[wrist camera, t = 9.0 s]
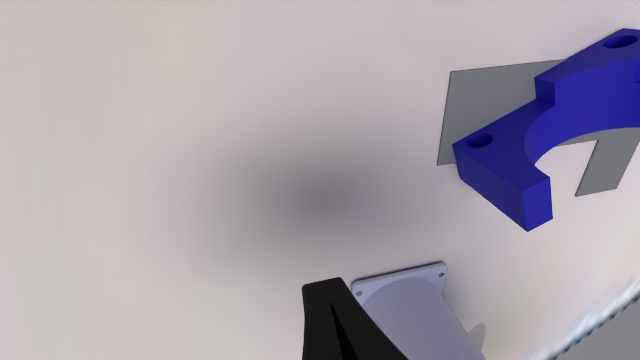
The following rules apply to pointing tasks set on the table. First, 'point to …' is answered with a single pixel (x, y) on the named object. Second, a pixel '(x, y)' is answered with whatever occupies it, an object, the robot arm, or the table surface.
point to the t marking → (510, 94)
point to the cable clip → (552, 126)
